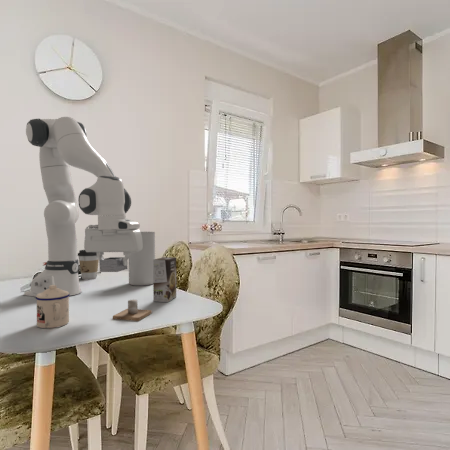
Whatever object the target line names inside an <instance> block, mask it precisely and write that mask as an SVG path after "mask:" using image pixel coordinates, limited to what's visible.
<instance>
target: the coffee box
mask: <svg viewBox="0 0 450 450" xmlns="http://www.w3.org/2000/svg"><path fill="white" fill-rule="evenodd" d="M152 285H153V286H152V287H153V290H152V291H153V295H152V296H153V300H152V301H153V302H160V303H169V302H171V301H172V300H174V299H175V298H176V297H177V257H174V256H173V257H172V256H171V257H170V256H169V257H167V256H166V257H165V256H164V257H159V258H155V259H154V260H153V284H152ZM173 298H174V299H173ZM170 300H171V301H170Z"/></svg>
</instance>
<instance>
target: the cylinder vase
mask: <svg viewBox="0 0 450 450" xmlns="http://www.w3.org/2000/svg"><path fill="white" fill-rule="evenodd" d="M140 232H141V235H142V242H143V248H142V250H141V251H139V252H130V257H129V258H128V284H129V285H131V286H136V287H137V286H138V287H140V286H151V285H153V260H154V259H156V232H155V231H140Z"/></svg>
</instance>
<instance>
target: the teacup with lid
mask: <svg viewBox="0 0 450 450" xmlns="http://www.w3.org/2000/svg"><path fill="white" fill-rule="evenodd" d="M69 295H70V294H69V292H67V291H63V290H61V289H59V288H57V286H56V285H50V286H49V289H47V290H45V291H44V292H42V293H39V294H37V296H36V297H35V300H36V326H37V327H38V328H41V329H54V328H60V327H64V326H65V325H67V324H68V323H69V322H70V312H69V311H70V301H69V300H70V298H69V297H70V296H71V295H70V296H69Z"/></svg>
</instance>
